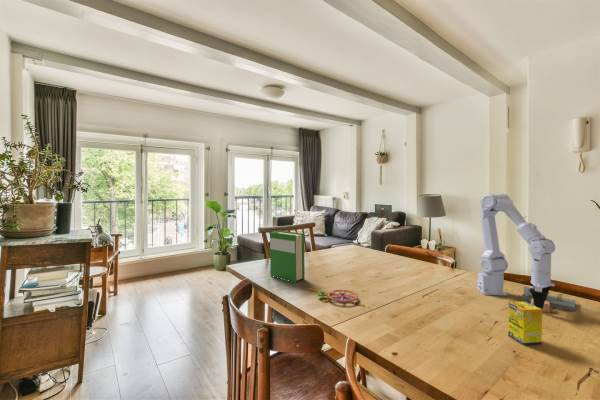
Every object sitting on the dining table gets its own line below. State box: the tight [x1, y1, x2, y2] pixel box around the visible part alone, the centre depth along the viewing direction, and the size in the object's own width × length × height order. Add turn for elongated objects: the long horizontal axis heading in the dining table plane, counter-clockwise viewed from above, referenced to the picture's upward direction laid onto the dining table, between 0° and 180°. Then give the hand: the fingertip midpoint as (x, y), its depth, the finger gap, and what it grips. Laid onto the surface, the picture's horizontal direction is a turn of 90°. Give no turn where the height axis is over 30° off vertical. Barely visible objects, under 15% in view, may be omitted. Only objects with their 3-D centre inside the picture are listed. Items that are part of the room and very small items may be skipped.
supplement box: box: [507, 301, 543, 346], centre depth 90 cm, size 6×6×11 cm
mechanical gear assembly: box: [307, 287, 366, 307], centre depth 127 cm, size 30×4×15 cm
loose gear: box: [530, 299, 551, 313], centre depth 113 cm, size 6×6×3 cm
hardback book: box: [269, 230, 306, 283], centre depth 154 cm, size 18×7×24 cm, turn 50°
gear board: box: [521, 285, 577, 312], centre depth 119 cm, size 16×10×5 cm, turn 45°
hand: (540, 305), depth 113 cm, fingers open, 7 cm apart
